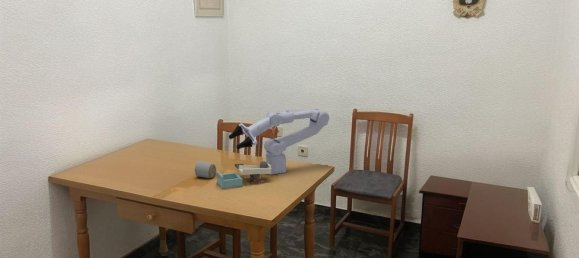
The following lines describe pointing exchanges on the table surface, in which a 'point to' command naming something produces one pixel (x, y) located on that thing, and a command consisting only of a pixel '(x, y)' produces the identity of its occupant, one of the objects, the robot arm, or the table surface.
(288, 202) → the table surface
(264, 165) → the ball
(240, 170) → the cream piece
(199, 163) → the ceramic mug
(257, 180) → the lever stand
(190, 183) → the table surface
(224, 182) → the bin
